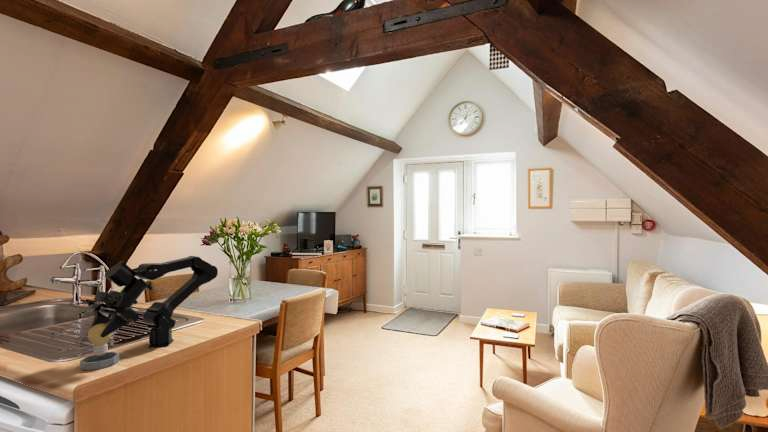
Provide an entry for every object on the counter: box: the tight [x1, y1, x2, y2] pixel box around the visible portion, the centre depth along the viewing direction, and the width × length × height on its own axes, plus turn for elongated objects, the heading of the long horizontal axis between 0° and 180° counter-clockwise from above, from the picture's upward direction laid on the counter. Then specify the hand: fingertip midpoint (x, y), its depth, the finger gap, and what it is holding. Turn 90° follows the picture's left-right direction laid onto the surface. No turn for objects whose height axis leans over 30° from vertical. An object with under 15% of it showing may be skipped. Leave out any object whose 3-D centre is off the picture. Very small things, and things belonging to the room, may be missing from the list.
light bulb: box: [87, 323, 113, 356], centre depth 124 cm, size 6×6×10 cm
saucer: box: [79, 351, 120, 371], centre depth 124 cm, size 10×10×2 cm
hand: (95, 335), depth 122 cm, fingers closed on light bulb, 6 cm apart
